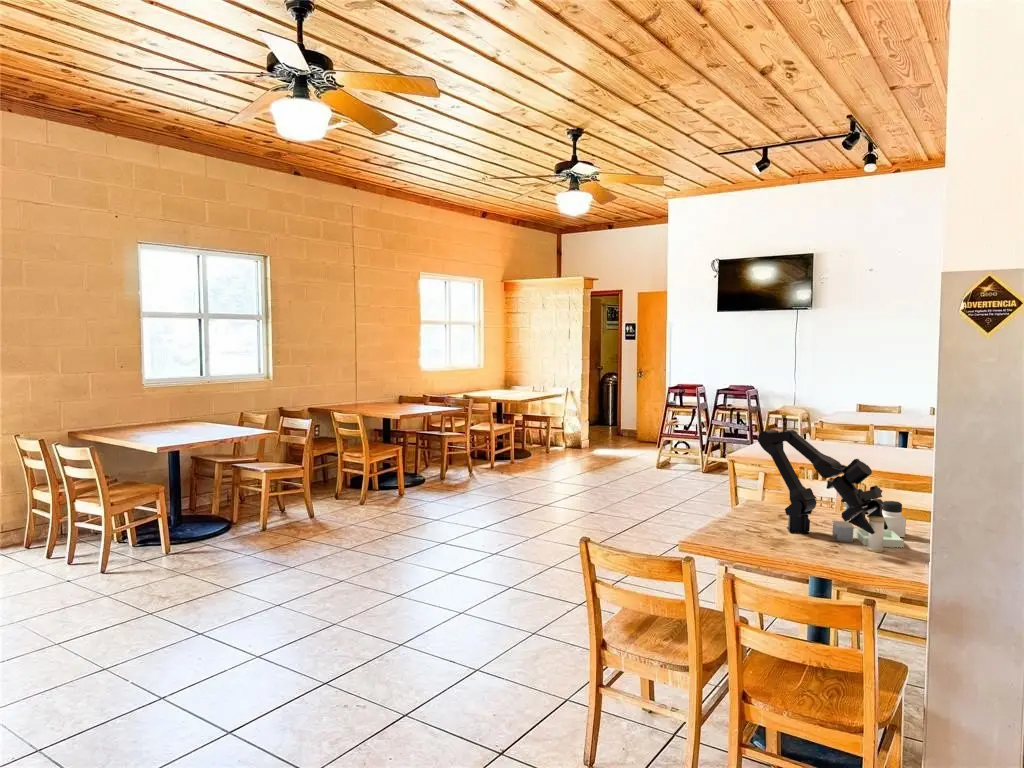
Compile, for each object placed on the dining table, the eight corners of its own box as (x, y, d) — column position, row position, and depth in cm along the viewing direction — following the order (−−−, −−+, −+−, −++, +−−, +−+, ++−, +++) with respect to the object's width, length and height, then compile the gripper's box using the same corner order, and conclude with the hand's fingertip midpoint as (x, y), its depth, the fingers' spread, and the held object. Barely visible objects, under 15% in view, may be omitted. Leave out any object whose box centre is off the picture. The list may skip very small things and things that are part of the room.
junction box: (836, 541, 245) (837, 526, 245) (830, 534, 254) (831, 519, 254) (853, 542, 244) (854, 527, 244) (846, 535, 253) (847, 520, 253)
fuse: (869, 552, 234) (871, 519, 233) (865, 548, 238) (867, 515, 238) (884, 553, 233) (886, 520, 232) (880, 549, 237) (882, 516, 237)
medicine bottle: (905, 538, 251) (906, 504, 250) (883, 536, 252) (884, 503, 251) (898, 532, 258) (900, 499, 257) (877, 531, 259) (878, 498, 258)
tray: (863, 545, 241) (864, 538, 241) (854, 535, 253) (854, 528, 253) (903, 548, 239) (904, 540, 239) (892, 537, 251) (892, 530, 251)
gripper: (852, 481, 231) (885, 522, 224) (879, 475, 243) (912, 513, 235) (827, 500, 238) (859, 541, 230) (855, 493, 250) (886, 531, 242)
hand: (880, 531), depth 234 cm, fingers open, 9 cm apart
